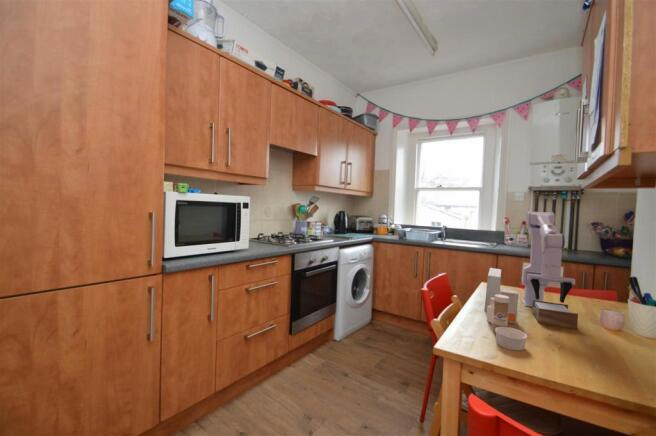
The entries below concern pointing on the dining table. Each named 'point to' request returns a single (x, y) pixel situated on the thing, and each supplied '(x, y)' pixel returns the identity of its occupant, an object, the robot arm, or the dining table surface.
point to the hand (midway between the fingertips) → (549, 300)
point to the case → (555, 316)
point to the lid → (551, 307)
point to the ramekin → (510, 338)
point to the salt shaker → (490, 311)
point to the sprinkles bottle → (500, 311)
